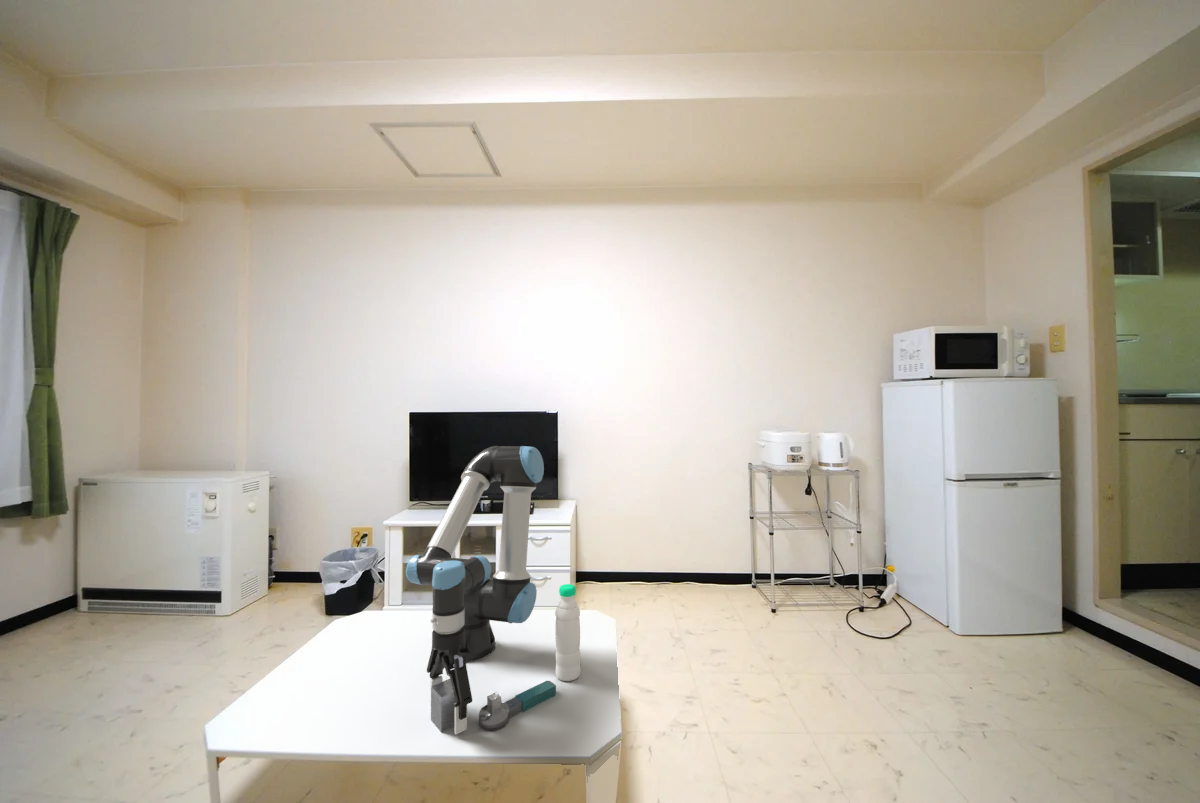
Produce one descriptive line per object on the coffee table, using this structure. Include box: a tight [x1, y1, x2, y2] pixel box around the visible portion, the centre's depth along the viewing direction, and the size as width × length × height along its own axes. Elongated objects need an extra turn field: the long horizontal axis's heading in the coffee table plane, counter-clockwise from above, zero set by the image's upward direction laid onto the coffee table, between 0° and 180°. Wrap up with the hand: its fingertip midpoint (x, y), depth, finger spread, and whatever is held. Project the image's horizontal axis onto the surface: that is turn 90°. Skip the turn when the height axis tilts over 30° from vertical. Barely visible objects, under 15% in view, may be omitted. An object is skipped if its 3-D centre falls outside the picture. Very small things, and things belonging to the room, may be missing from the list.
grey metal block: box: [430, 678, 456, 733], centre depth 110 cm, size 6×6×8 cm
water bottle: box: [554, 583, 581, 682], centre depth 130 cm, size 7×7×25 cm
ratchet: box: [478, 680, 557, 732], centre depth 114 cm, size 21×7×6 cm, turn 133°
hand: (448, 717), depth 110 cm, fingers open, 13 cm apart
